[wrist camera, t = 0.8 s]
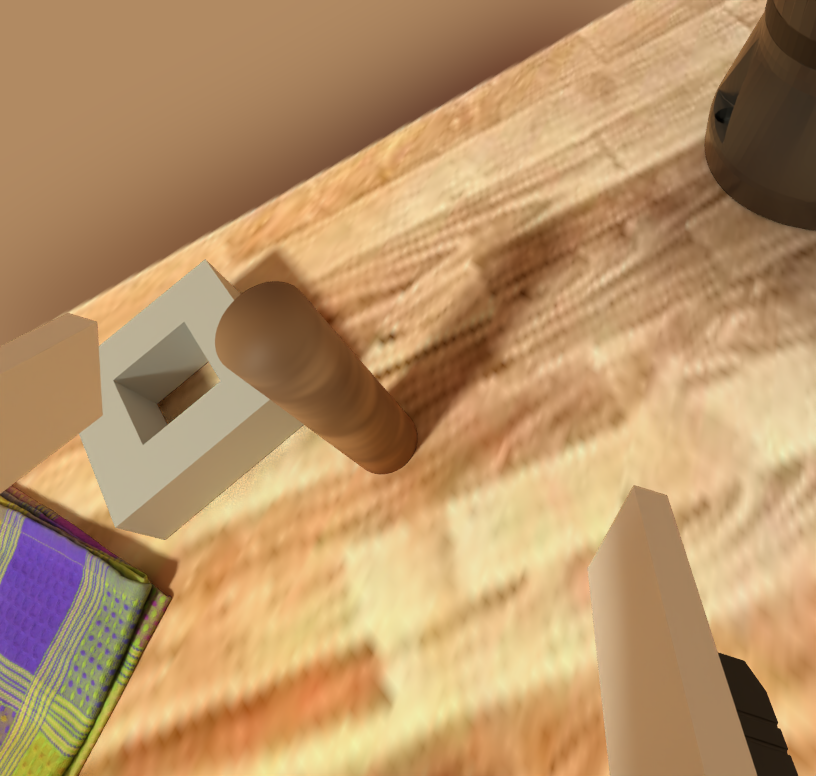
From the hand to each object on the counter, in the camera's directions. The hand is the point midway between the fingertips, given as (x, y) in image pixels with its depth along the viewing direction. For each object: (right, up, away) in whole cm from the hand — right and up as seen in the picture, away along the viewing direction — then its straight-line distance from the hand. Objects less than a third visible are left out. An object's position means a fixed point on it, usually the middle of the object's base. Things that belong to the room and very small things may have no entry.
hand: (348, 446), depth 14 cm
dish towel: (-27, -16, +27) cm, 42 cm away
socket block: (-14, 0, +29) cm, 32 cm away
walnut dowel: (0, -2, +23) cm, 23 cm away
